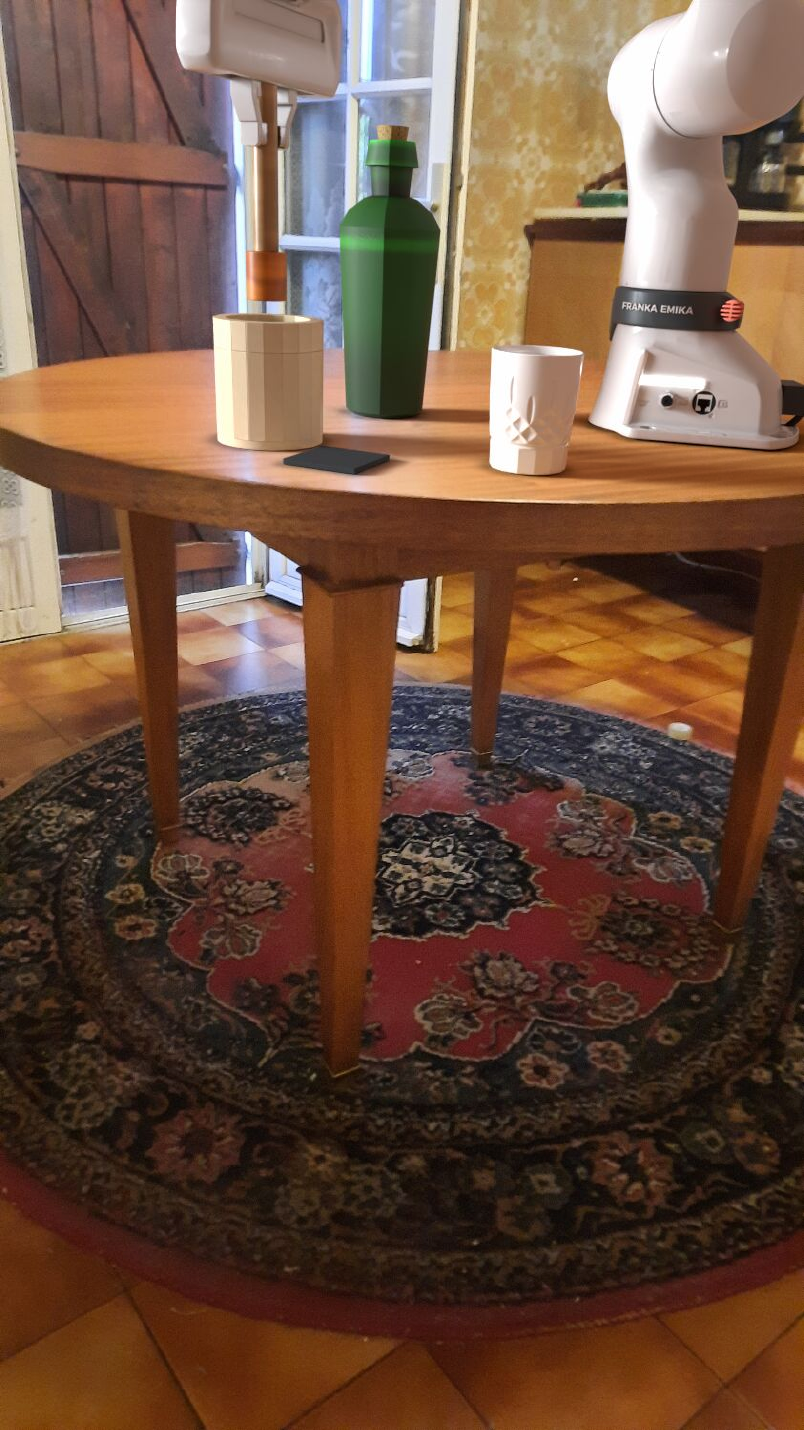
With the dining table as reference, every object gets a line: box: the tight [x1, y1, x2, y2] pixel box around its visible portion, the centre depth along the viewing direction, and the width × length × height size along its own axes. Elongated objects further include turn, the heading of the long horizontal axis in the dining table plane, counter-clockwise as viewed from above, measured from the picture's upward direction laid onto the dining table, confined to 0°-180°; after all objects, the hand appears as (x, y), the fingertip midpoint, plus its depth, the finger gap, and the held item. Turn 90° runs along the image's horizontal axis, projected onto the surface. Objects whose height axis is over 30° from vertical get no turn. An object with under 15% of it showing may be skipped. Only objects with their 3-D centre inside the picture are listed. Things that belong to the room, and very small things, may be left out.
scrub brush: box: [245, 81, 288, 303], centre depth 89 cm, size 4×4×17 cm
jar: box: [212, 312, 325, 452], centre depth 96 cm, size 10×10×11 cm
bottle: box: [338, 124, 441, 419], centre depth 109 cm, size 11×11×28 cm
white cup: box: [489, 344, 585, 476], centre depth 89 cm, size 8×8×10 cm
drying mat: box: [282, 445, 391, 475], centre depth 90 cm, size 7×7×1 cm
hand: (265, 148), depth 87 cm, fingers closed on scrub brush, 2 cm apart
